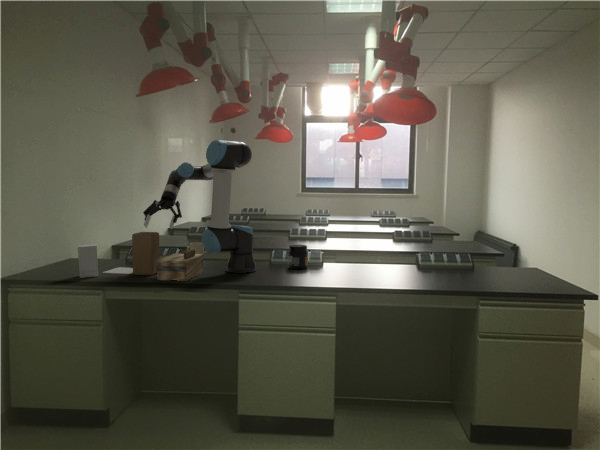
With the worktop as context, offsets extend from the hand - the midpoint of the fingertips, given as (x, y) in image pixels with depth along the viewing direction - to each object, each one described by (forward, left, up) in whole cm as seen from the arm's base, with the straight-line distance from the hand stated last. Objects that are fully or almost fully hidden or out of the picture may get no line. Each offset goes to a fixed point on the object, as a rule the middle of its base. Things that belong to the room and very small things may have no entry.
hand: (158, 226), depth 232 cm
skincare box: (+24, +23, -22) cm, 40 cm away
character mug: (-17, -9, -22) cm, 29 cm away
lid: (-18, +14, -14) cm, 26 cm away
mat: (+15, +8, -22) cm, 28 cm away
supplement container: (-69, -19, -22) cm, 75 cm away
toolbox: (-18, +14, -22) cm, 32 cm away
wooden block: (+1, +11, -22) cm, 25 cm away
